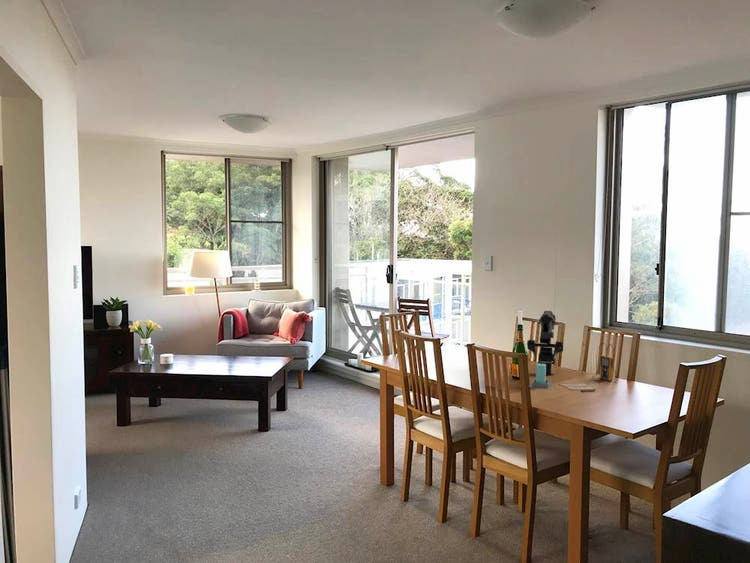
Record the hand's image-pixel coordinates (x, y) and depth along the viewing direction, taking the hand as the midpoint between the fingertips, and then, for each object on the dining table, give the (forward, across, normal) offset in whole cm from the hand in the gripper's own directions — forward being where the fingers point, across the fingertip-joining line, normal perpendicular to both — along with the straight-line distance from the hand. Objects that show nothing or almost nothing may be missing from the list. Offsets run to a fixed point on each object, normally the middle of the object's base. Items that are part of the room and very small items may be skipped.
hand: (544, 358), depth 313 cm
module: (+15, -1, +4) cm, 15 cm away
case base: (+15, -1, +4) cm, 16 cm away
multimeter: (-5, +30, +25) cm, 39 cm away
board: (+13, +17, +7) cm, 22 cm away
